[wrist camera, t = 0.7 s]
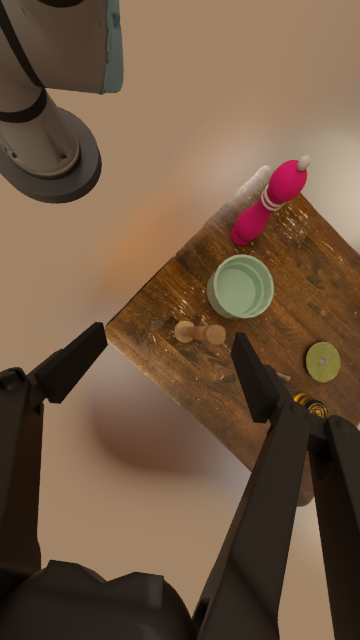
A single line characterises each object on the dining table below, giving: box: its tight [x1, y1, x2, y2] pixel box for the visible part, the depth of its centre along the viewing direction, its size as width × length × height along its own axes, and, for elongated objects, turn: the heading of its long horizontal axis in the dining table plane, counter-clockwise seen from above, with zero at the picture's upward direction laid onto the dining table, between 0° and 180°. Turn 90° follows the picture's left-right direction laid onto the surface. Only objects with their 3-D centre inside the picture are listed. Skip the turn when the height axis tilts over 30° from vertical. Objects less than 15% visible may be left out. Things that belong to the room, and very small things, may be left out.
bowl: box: [207, 255, 274, 320], centre depth 39 cm, size 15×15×6 cm
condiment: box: [277, 372, 328, 419], centre depth 36 cm, size 7×8×12 cm
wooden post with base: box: [174, 321, 226, 345], centre depth 29 cm, size 6×6×22 cm
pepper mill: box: [231, 155, 311, 246], centre depth 33 cm, size 7×7×20 cm
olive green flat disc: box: [306, 342, 340, 382], centre depth 43 cm, size 11×11×2 cm
